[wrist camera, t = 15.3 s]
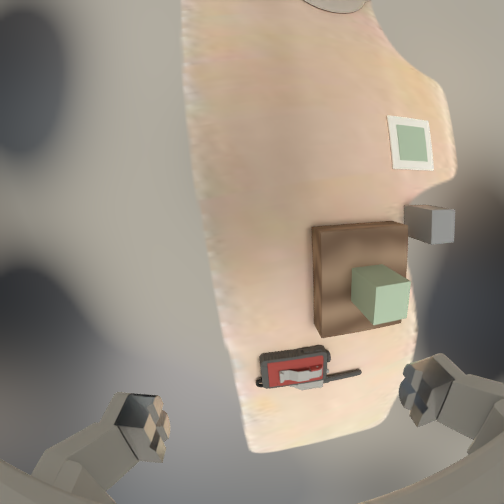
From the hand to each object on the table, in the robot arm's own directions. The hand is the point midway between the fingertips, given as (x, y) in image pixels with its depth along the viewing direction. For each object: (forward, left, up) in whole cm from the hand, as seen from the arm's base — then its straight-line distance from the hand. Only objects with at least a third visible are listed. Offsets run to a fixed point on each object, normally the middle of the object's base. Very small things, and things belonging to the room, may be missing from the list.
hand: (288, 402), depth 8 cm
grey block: (0, +28, -34) cm, 44 cm away
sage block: (+8, +16, -29) cm, 34 cm away
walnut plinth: (+8, +16, -34) cm, 38 cm away
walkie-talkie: (+25, +8, -35) cm, 43 cm away
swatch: (-13, +28, -34) cm, 46 cm away
